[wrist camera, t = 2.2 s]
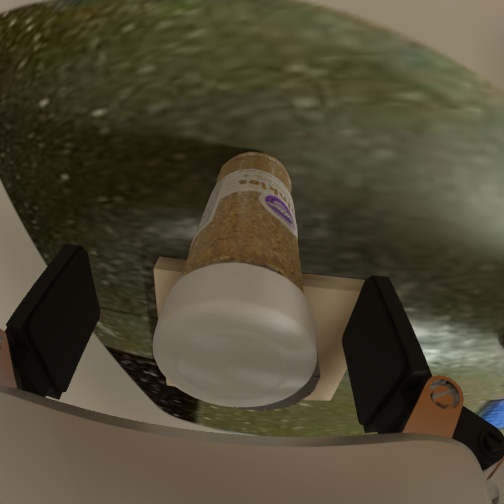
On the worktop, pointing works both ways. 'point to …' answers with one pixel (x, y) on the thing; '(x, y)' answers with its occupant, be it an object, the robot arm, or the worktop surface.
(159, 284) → the socket board
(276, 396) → the sprinkles bottle
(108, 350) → the worktop surface
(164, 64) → the worktop surface
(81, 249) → the robot arm
